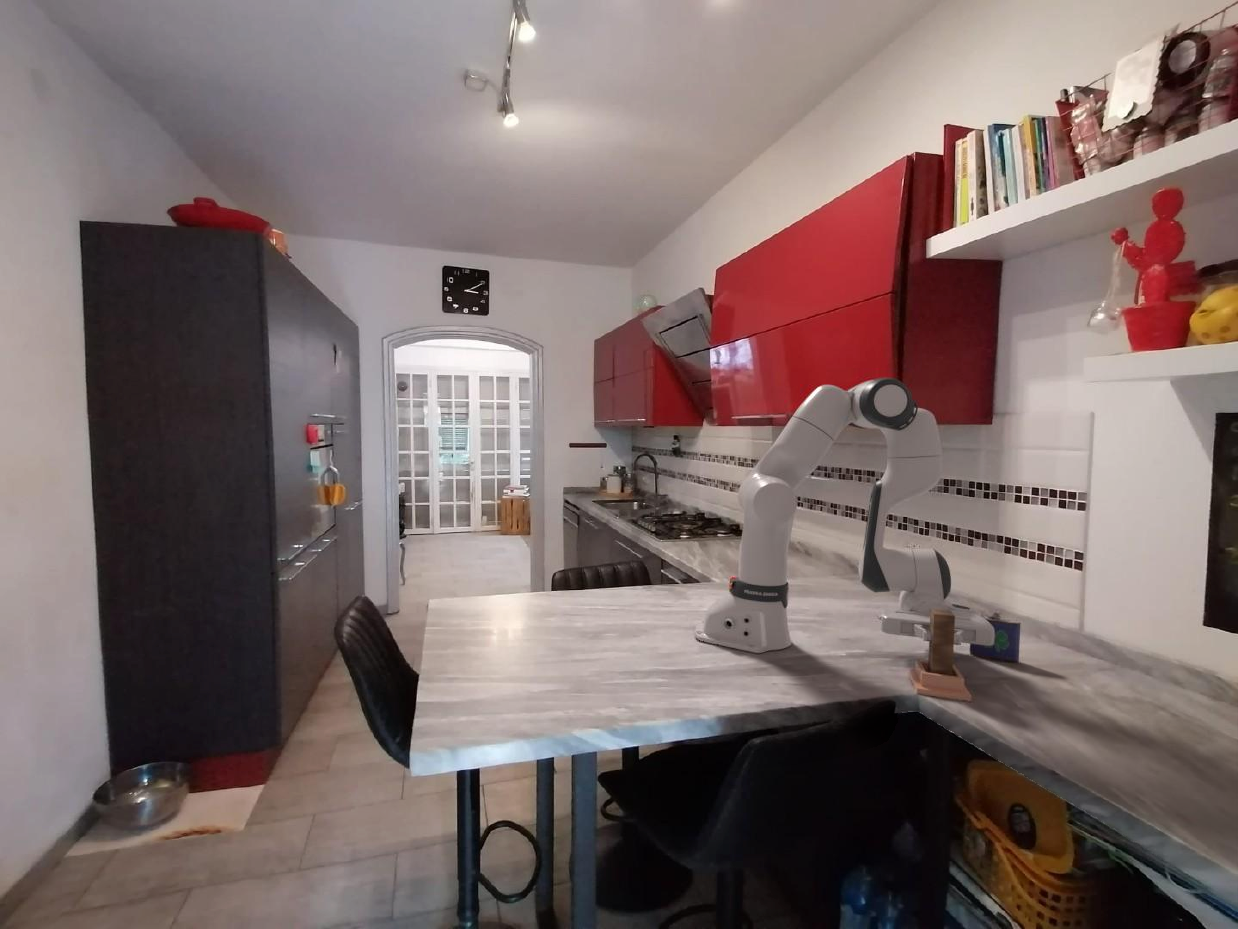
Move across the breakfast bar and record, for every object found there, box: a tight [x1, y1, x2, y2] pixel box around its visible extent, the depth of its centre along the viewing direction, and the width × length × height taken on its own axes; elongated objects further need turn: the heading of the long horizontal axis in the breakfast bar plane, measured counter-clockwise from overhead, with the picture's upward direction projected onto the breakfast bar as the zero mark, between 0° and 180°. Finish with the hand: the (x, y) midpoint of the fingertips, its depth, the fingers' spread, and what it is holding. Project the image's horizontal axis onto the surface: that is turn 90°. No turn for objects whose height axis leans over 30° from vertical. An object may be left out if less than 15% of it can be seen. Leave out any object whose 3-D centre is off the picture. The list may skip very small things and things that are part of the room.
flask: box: [969, 610, 1022, 664], centre depth 126 cm, size 9×3×11 cm, turn 63°
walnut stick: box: [927, 609, 955, 676], centre depth 110 cm, size 4×4×12 cm
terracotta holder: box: [907, 659, 973, 702], centre depth 110 cm, size 9×10×4 cm
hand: (942, 639), depth 109 cm, fingers closed on walnut stick, 3 cm apart
